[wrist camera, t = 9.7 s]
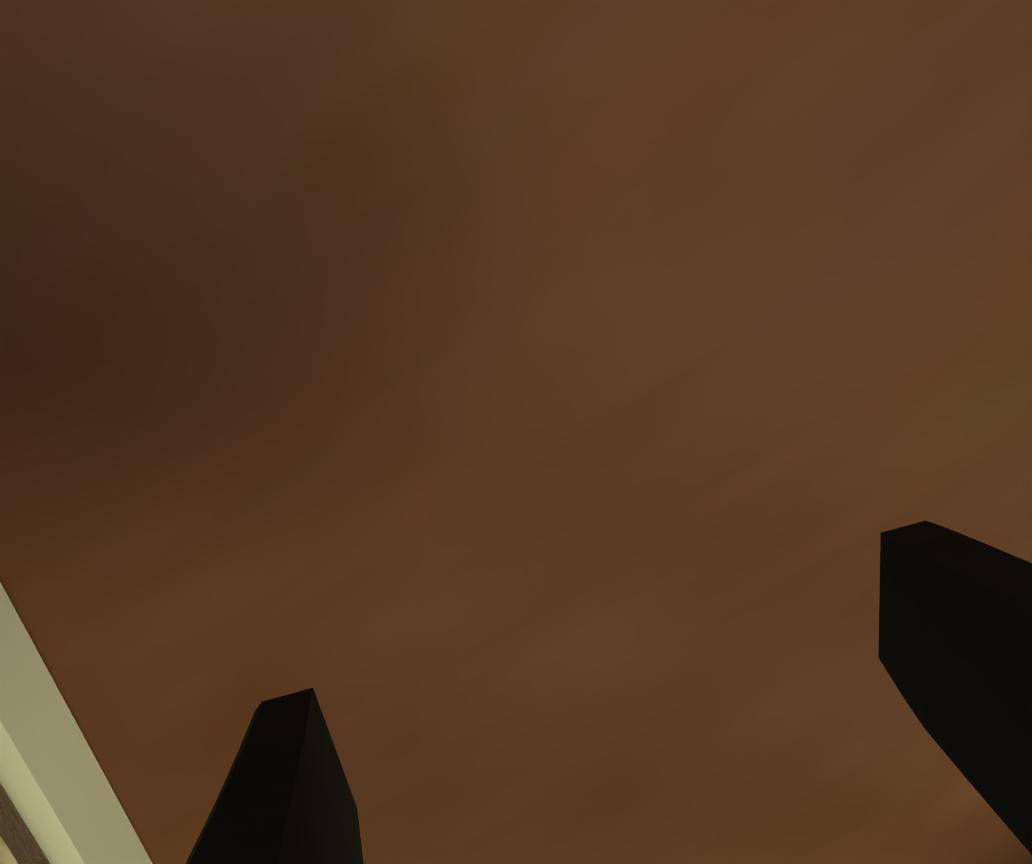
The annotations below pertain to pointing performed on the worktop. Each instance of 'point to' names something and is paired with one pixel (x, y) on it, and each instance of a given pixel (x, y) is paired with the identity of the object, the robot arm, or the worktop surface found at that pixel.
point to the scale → (54, 762)
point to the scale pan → (16, 836)
